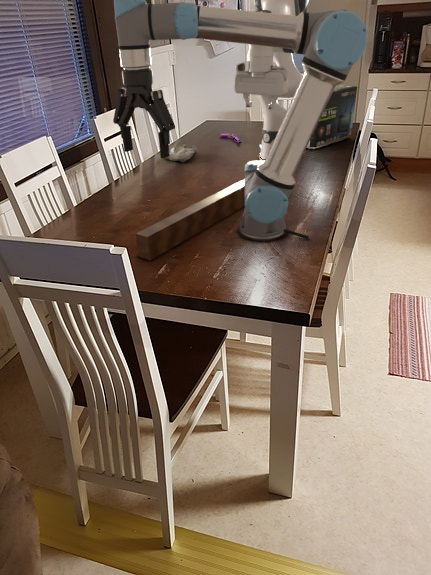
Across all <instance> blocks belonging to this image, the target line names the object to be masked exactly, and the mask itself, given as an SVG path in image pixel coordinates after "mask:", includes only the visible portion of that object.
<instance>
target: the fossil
mask: <svg viewBox="0 0 431 575" xmlns="http://www.w3.org/2000/svg"><path fill="white" fill-rule="evenodd" d="M198 153H199V150H198V148H197V146H195V145H188V146H187V145H186V143H184V142H183V143H181V142H176V143H175V145H174V146H173V147H172V148H171V149H169V155H170V156H168V157H165V158H162V160H169V161H174V162H177V161H179V162H180V163H185V162H187V161H188V160H190V159H191V158H192V157H193V156H194V155H197V154H198Z"/></svg>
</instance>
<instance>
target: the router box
mask: <svg viewBox="0 0 431 575" xmlns="http://www.w3.org/2000/svg"><path fill="white" fill-rule="evenodd" d="M357 93H358V86H356V85H350V84H339V85H337V86H336V87H335V88H334V90H333V93H332V95H331V97H330V99H329V101H328V103H327V105H326V107H325V109H324V112H323V114H322V116H321V118H320V120H319V122H318V124H317V126H316V128H315V131H314V133H313V135H312V137H311V139H310V141H309V143H308V145H307V147H317V146H320V145H323V144H325V143H328V142H331V141H333V140H336V139H338V138H341V137H344V136H347V135H351V136H352V133H353V132H352V131H353V125H354V115H355V109H356V99H357ZM311 151H313V150H312V149H311Z"/></svg>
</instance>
